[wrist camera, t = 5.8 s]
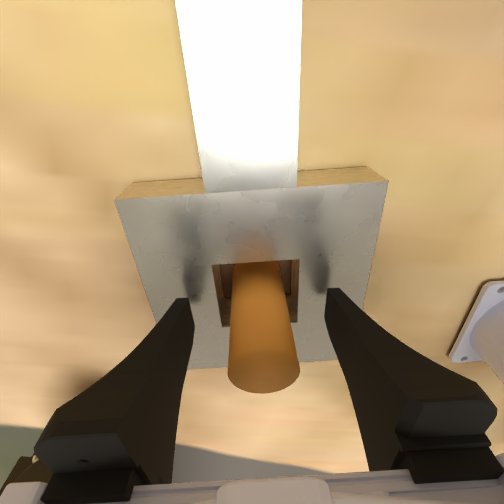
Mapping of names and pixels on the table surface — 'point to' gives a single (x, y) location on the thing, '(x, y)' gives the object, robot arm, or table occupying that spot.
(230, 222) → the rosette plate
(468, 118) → the table surface
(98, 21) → the table surface
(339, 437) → the table surface
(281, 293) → the orange cylinder
